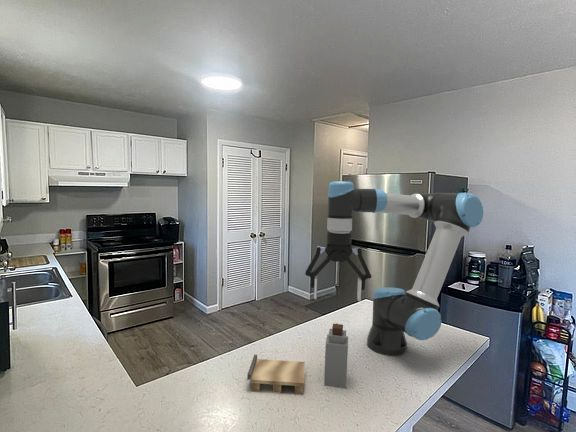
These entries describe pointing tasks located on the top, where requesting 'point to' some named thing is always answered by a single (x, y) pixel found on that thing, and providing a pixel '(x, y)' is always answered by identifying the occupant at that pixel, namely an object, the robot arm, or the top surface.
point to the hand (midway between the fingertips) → (336, 298)
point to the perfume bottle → (336, 357)
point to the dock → (276, 374)
